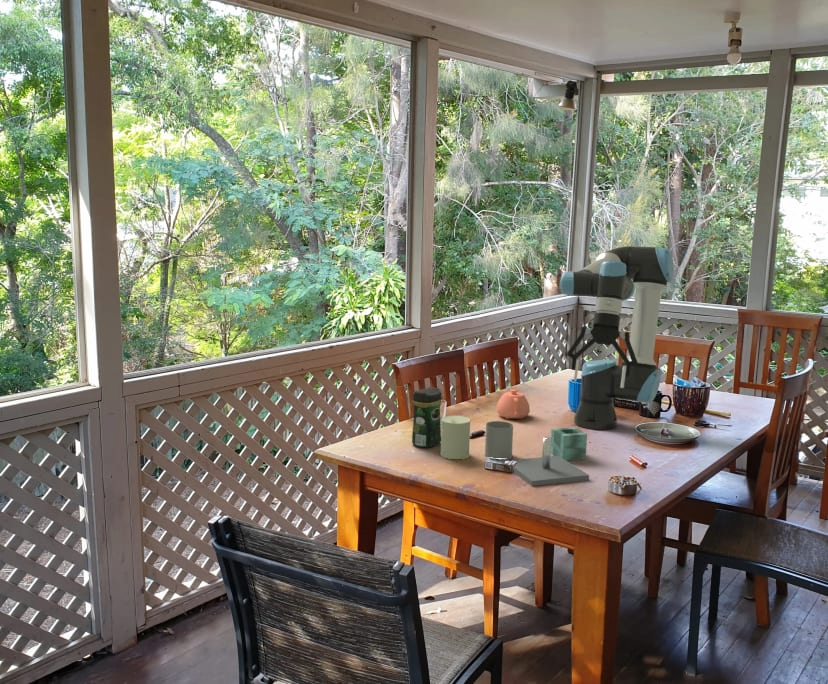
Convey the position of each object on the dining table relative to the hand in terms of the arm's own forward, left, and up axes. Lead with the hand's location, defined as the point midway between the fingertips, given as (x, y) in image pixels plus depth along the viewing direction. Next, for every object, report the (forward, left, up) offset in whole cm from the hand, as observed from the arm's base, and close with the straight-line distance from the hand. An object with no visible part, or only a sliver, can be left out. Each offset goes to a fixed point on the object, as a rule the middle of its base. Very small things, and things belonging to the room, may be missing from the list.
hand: (598, 384), depth 226 cm
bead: (+3, -11, -25) cm, 28 cm away
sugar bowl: (0, -57, -25) cm, 62 cm away
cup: (+24, -17, -25) cm, 39 cm away
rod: (+17, +1, -24) cm, 29 cm away
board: (+17, +1, -25) cm, 30 cm away
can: (+37, -21, -25) cm, 49 cm away
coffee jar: (+42, -34, -25) cm, 59 cm away
